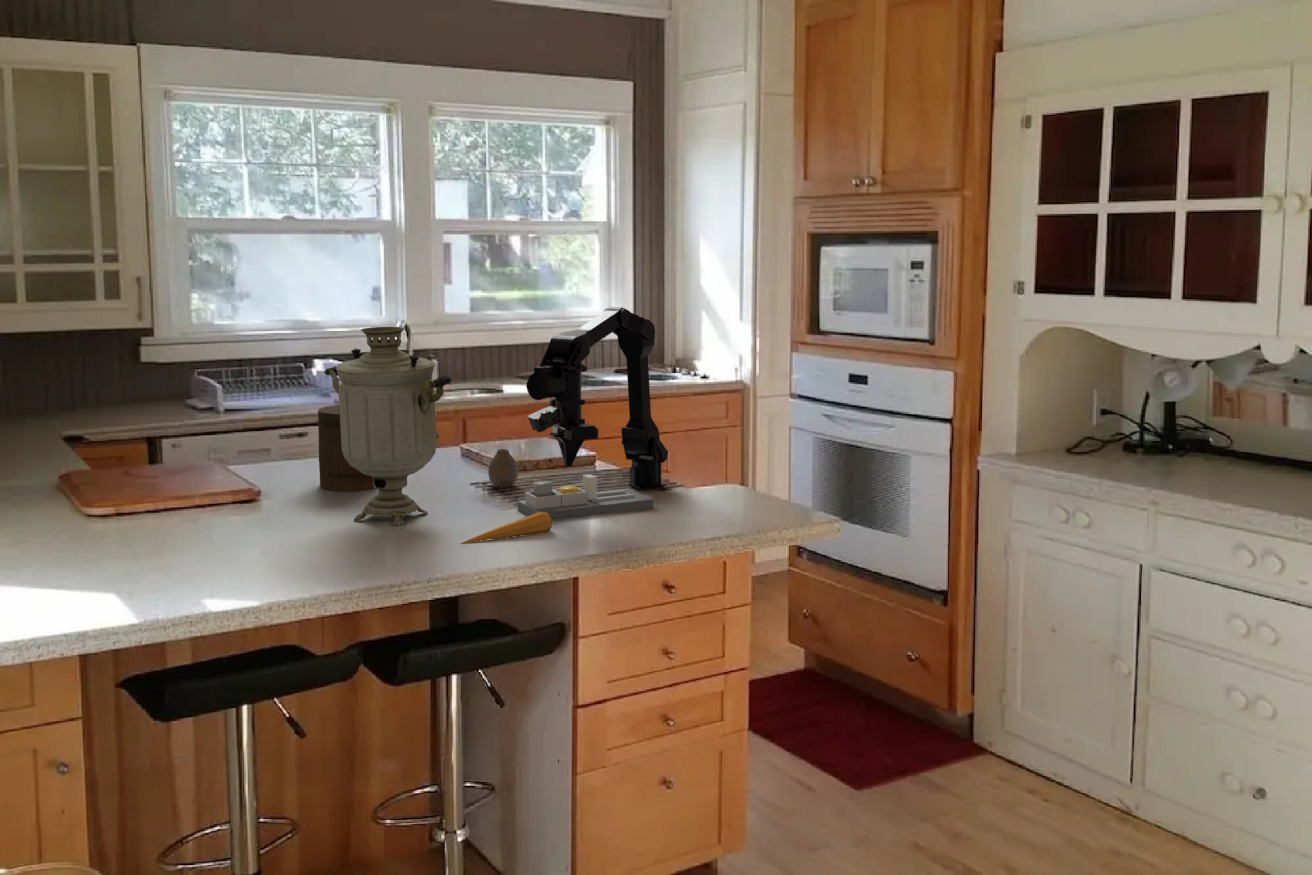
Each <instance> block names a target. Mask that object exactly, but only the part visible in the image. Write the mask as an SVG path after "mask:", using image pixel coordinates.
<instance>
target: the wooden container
mask: <svg viewBox="0 0 1312 875" xmlns="http://www.w3.org/2000/svg"><path fill="white" fill-rule="evenodd" d="M317 422H318V425H317V426H318V427H317V428H318V466H319V467H318V468H319V487H321V488H322V489H324V490H328V491H338V492H355V491H366V490H367V491H368V490H372V489H376V488H375V487H373V478H372V477H371V476H367V475H364V474H362V473H361V472H360V471H358V470H357V469H356V468H354V467H352V466H351V465H350V464H349V463H348V462H347V461H346V459H345V458H344V455H343V452H342V445H341V428H340V411H339V404H334V405H327V406H323V407H319V408H318V410H317Z"/></svg>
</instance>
